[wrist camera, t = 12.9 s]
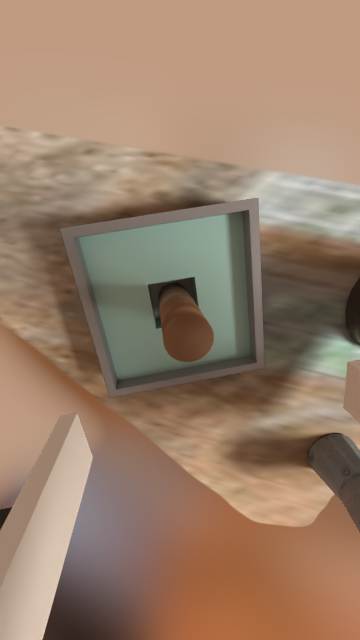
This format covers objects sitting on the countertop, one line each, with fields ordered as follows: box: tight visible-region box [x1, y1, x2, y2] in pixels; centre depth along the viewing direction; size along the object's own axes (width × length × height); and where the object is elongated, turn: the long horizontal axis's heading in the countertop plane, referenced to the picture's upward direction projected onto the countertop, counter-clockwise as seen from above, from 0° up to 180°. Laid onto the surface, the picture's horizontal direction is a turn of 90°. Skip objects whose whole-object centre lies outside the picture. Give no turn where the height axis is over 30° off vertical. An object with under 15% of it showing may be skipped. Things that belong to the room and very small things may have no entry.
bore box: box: [59, 198, 265, 398], centre depth 30 cm, size 20×20×6 cm
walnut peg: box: [158, 283, 214, 362], centre depth 26 cm, size 4×4×14 cm
